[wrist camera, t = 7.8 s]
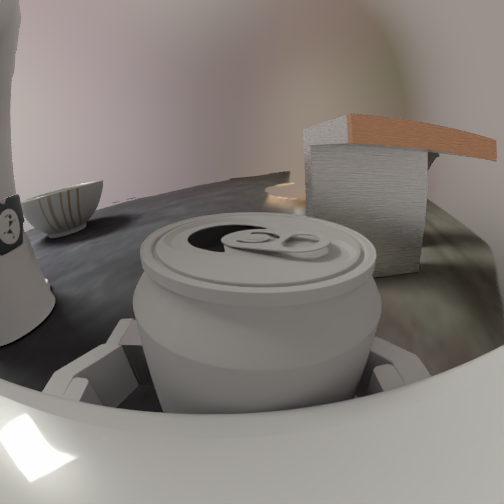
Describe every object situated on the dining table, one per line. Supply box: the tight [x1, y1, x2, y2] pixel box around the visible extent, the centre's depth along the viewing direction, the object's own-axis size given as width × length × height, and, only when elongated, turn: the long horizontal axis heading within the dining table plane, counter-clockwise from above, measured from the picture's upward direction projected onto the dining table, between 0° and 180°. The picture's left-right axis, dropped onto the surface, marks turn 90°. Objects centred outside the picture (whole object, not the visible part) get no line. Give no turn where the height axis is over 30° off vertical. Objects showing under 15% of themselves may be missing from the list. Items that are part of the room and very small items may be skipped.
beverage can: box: [133, 212, 382, 414], centre depth 9 cm, size 6×6×12 cm
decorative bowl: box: [21, 180, 103, 238], centre depth 64 cm, size 27×27×12 cm
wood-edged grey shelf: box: [303, 114, 497, 278], centre depth 23 cm, size 14×14×16 cm
